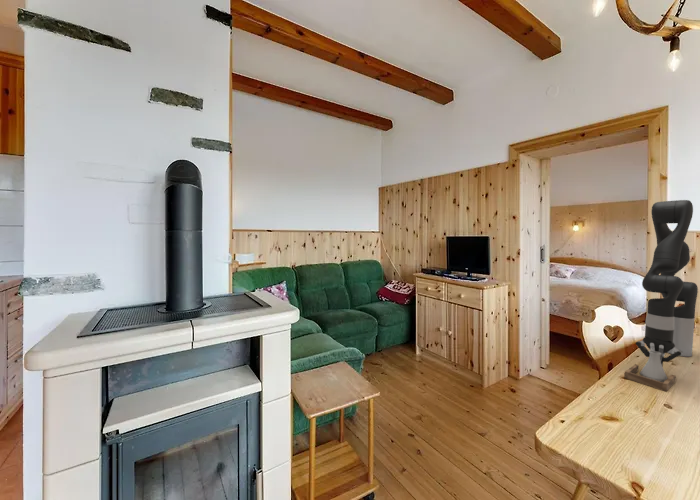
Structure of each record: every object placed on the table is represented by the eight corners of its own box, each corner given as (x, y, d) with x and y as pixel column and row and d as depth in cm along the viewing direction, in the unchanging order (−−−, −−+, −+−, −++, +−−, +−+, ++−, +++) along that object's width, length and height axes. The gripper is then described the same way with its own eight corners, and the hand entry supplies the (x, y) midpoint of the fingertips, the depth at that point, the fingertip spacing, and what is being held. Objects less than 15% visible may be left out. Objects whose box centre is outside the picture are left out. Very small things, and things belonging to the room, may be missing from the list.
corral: (634, 370, 116) (635, 364, 116) (675, 382, 107) (675, 375, 107) (624, 378, 110) (624, 371, 110) (666, 391, 101) (666, 384, 101)
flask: (652, 372, 114) (654, 348, 114) (673, 382, 107) (675, 356, 106) (634, 373, 114) (636, 348, 113) (654, 382, 107) (656, 356, 106)
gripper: (687, 329, 108) (684, 374, 109) (639, 320, 120) (636, 361, 121) (682, 332, 104) (679, 379, 105) (633, 323, 116) (630, 365, 117)
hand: (656, 369), depth 113 cm, fingers closed
